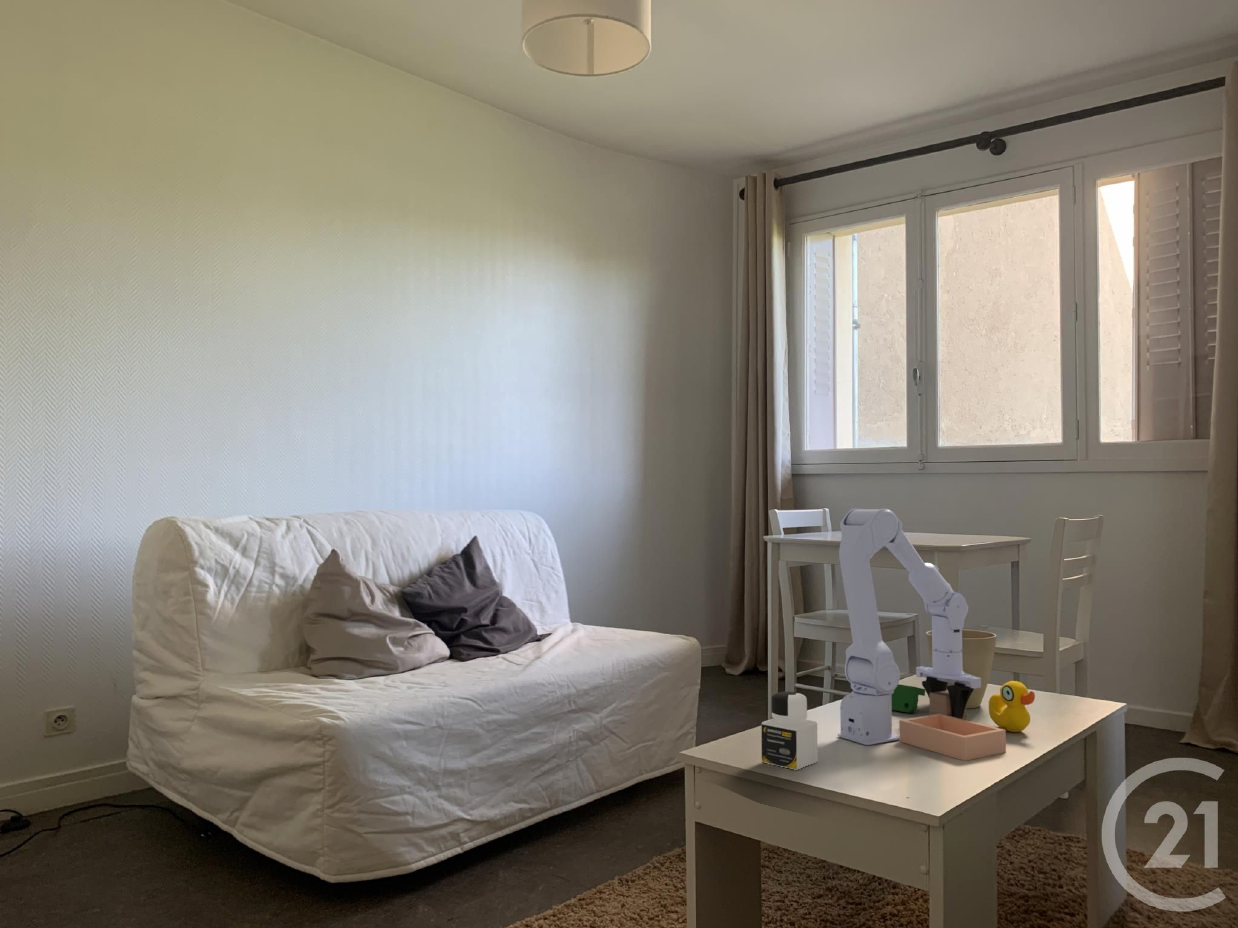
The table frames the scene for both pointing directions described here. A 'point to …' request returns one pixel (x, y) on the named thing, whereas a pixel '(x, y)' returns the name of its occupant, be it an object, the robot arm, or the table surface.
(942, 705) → the tan wooden block
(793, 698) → the medicine bottle
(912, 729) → the pink rectangular tray
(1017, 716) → the duckling
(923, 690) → the clamp
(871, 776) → the table surface
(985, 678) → the plant pot
